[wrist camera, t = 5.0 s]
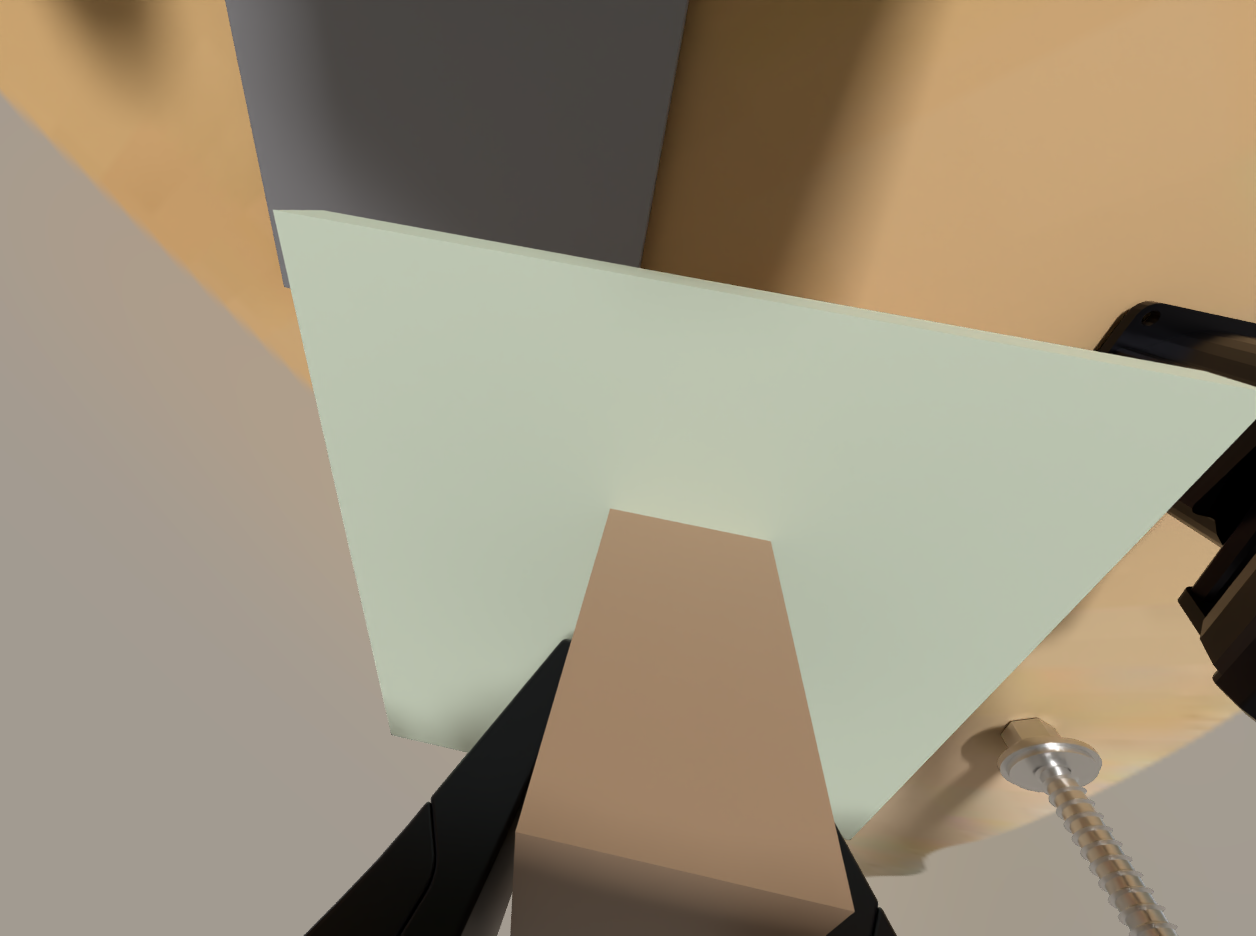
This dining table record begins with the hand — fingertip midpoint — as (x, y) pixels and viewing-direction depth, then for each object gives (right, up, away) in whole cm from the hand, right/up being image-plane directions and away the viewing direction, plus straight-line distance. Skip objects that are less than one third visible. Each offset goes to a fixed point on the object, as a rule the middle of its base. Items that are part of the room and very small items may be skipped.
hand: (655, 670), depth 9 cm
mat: (-7, +17, +7) cm, 19 cm away
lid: (0, +1, +2) cm, 2 cm away
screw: (+24, -12, +19) cm, 33 cm away
